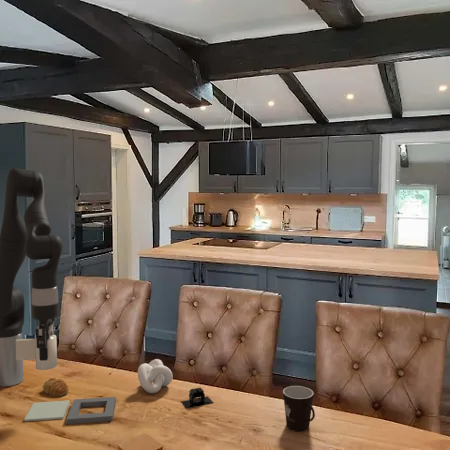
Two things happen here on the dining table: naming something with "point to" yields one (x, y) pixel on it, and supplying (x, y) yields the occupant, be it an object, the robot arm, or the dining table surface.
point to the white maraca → (37, 352)
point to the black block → (196, 399)
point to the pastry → (55, 387)
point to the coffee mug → (298, 407)
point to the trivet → (47, 411)
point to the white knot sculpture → (154, 376)
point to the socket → (94, 417)
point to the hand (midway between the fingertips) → (46, 356)
